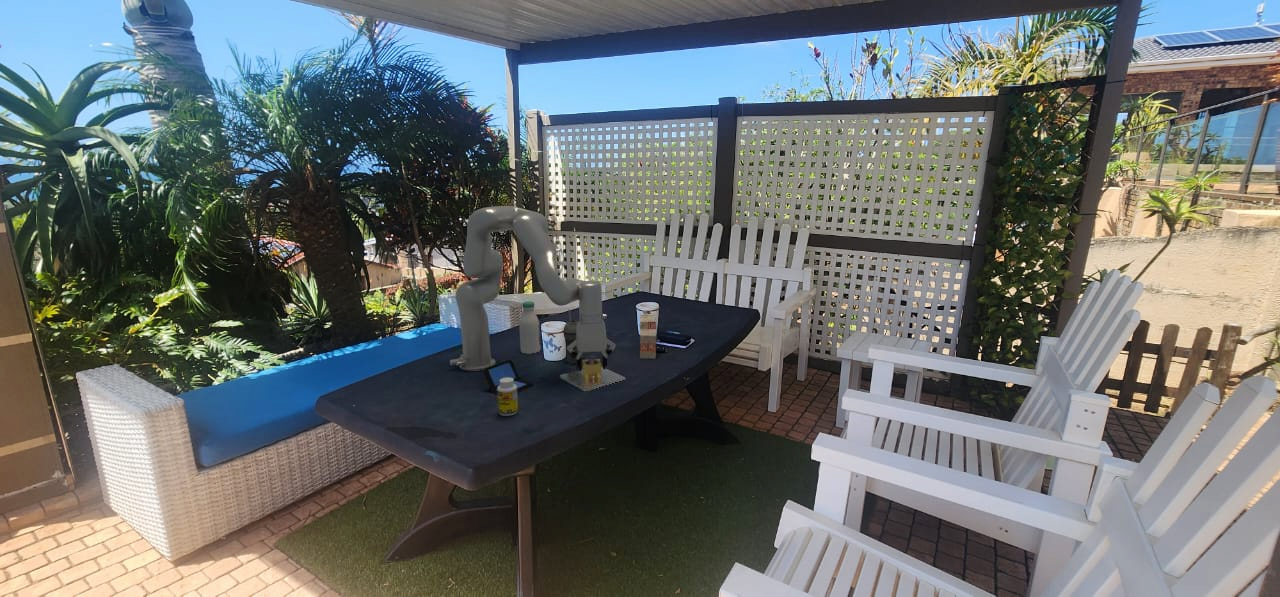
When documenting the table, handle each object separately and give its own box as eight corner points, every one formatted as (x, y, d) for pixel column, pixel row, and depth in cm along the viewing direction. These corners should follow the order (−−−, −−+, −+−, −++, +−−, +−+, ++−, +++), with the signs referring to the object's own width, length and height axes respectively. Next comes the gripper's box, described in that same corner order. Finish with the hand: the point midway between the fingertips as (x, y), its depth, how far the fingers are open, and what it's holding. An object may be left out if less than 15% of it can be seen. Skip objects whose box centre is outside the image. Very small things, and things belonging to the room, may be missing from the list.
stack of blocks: (656, 359, 202) (656, 327, 199) (639, 359, 202) (639, 327, 199) (655, 342, 223) (655, 313, 220) (640, 342, 223) (640, 313, 220)
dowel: (592, 382, 175) (592, 376, 175) (590, 381, 176) (590, 375, 176) (596, 381, 176) (596, 375, 176) (593, 380, 177) (593, 374, 177)
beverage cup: (582, 364, 196) (580, 311, 191) (562, 364, 196) (560, 311, 192) (584, 358, 203) (583, 307, 199) (565, 357, 203) (563, 307, 199)
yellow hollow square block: (582, 373, 183) (582, 359, 182) (600, 372, 184) (599, 358, 183) (584, 383, 174) (583, 369, 173) (602, 382, 175) (602, 368, 174)
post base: (585, 391, 170) (584, 368, 168) (559, 377, 182) (559, 355, 181) (625, 380, 180) (625, 357, 178) (598, 367, 192) (598, 346, 190)
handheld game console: (506, 398, 166) (505, 375, 164) (483, 391, 172) (481, 369, 170) (535, 385, 176) (533, 364, 175) (512, 379, 182) (510, 358, 181)
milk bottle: (538, 354, 207) (536, 304, 203) (518, 354, 207) (515, 304, 203) (542, 348, 215) (540, 300, 211) (523, 348, 215) (520, 300, 211)
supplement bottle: (494, 415, 153) (492, 381, 151) (506, 407, 158) (504, 375, 156) (511, 418, 151) (508, 384, 149) (522, 410, 156) (520, 377, 154)
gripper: (615, 314, 181) (616, 363, 185) (564, 316, 179) (566, 366, 183) (618, 320, 174) (618, 371, 178) (564, 322, 172) (566, 374, 175)
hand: (592, 368), depth 180 cm, fingers open, 7 cm apart
